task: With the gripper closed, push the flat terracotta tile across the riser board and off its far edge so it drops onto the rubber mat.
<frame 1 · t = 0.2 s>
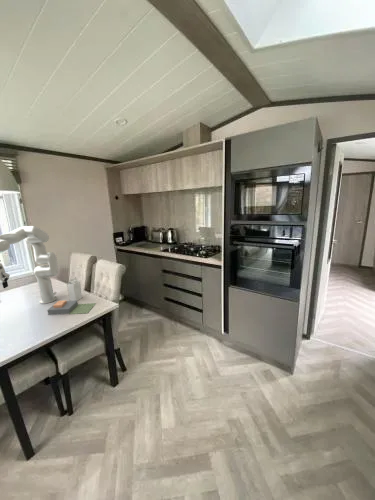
milk carton: (76, 299, 190), on the table
tile: (60, 305, 171), point 4 cm above the table, touching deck
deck: (63, 309, 172), on the table
mat: (83, 308, 173), on the table
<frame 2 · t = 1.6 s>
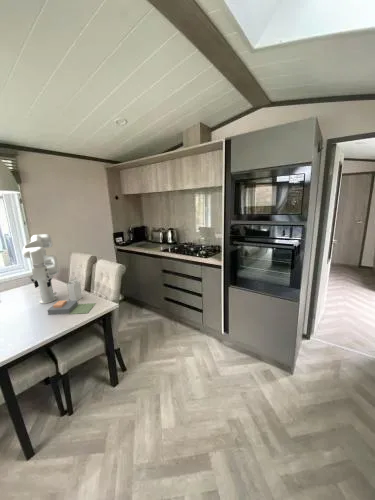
hand: (43, 286, 167), 20 cm above the table, fingers open, 9 cm apart
nothing on the table moved.
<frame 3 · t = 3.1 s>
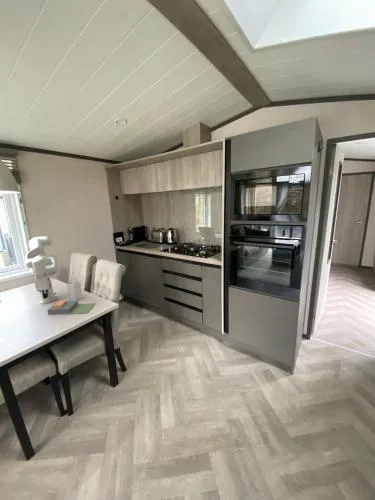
hand: (45, 297, 169), 11 cm above the table, fingers closed
nothing on the table moved.
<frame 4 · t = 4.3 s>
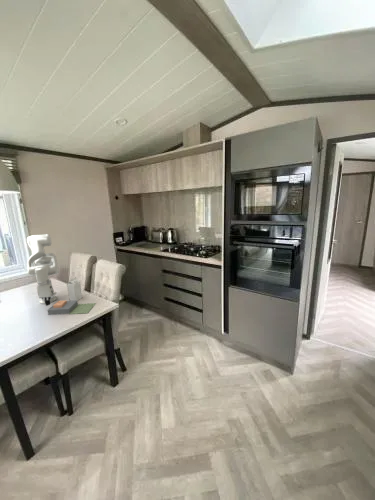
hand: (48, 304, 171), 5 cm above the table, fingers closed
nothing on the table moved.
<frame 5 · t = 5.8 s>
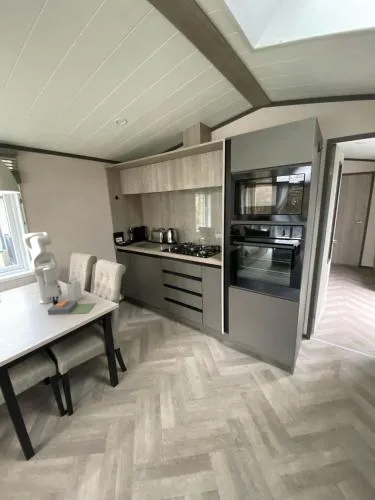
hand: (56, 304, 171), 5 cm above the table, fingers closed
tile: (62, 305, 171), point 4 cm above the table, touching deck
everything else where it was.
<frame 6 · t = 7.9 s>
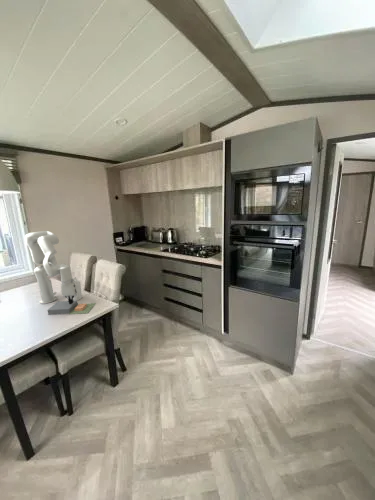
hand: (71, 303, 171), 5 cm above the table, fingers closed
tile: (80, 306, 172), point 2 cm above the table, tilted 180°, touching mat
everything else where it was.
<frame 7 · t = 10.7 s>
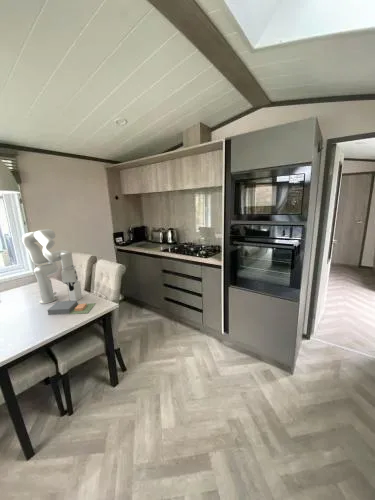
hand: (71, 290, 169), 16 cm above the table, fingers closed
nothing on the table moved.
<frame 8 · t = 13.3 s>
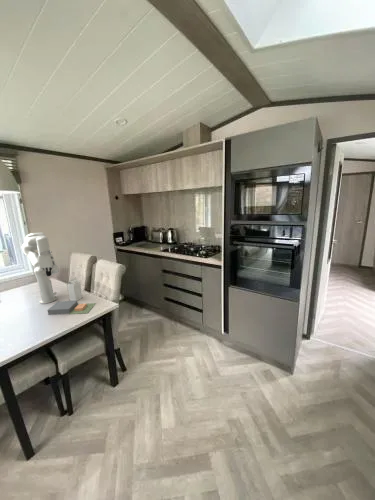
hand: (49, 275, 170), 27 cm above the table, fingers closed
nothing on the table moved.
at the end: tile point 2.4 cm above the table; tile inside the target area (1.4 cm from its centre), point 2.4 cm above the table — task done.
